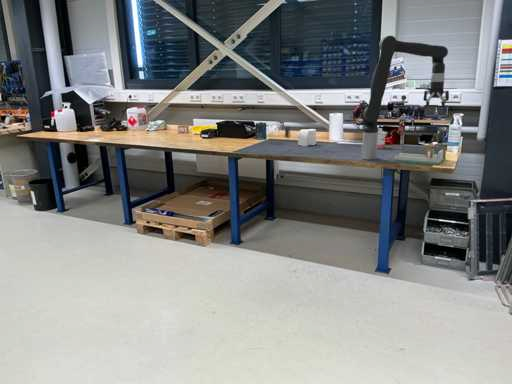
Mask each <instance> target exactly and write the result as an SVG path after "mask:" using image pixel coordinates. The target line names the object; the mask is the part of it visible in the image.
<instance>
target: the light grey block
mask: <svg viewBox="0 0 512 384" xmlns="http://www.w3.org/2000/svg"><path fill="white" fill-rule="evenodd" d="M315 144H316V145H317V129H316V128H308V129H300V130H299V133H298V136H297V145H301V146H300V147H309V146H308V145H314V146H315Z"/></svg>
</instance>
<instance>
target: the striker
mask: <svg viewBox="0 0 512 384" xmlns="http://www.w3.org/2000/svg"><path fill="white" fill-rule="evenodd" d="M444 135H445V131H444V130H438V131H437V137H436V141H433V142H431V143H429V144H428V145H426V146H427V148H426V156H425V158H428V152H430V158H431V157H432V153H433V147H434V146H451V147H454V146H455V143H454V142H444V137H445V136H444Z"/></svg>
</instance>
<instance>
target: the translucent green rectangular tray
mask: <svg viewBox="0 0 512 384" xmlns="http://www.w3.org/2000/svg"><path fill="white" fill-rule="evenodd" d="M426 148H427V145H419V144H418V145H416V144H402V145H401V152H399V153H398V155H394V159H393V161H394V162H395V163H404V162H408V163H407V164H416V163H420V164H419V165H428V164H429V166H431V165H432V166H440V165H441V164H442V163H443V162H444V161H445V160H446V154H447V153H446V152H447V146H438V145H436V146H434V147H433V153H432V155H433V154H437V155H438V159H432V158H430V152H428V158H425V156H426Z"/></svg>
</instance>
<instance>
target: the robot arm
mask: <svg viewBox="0 0 512 384" xmlns="http://www.w3.org/2000/svg"><path fill="white" fill-rule="evenodd" d="M378 43H379V44H378V46H379V50H380V54H379V59H378V62H377V64H376V66H375V69H374V71H373V74H372V79H371V83H370V95H369V96H370V97H369V102H368V105H367V106H366V107H365V108H364V109H363V112H362V144H361V151H360V152H361V154H360V160H361V159H363V160H369V161H370V160H378V148H377V143H378V131H379V130H378V128H379V127H378V120H379V118H380V114H381V108H382V101H383V97H384V94H385V91H386V87H387V84H388V79H389V75H390V70H391V66H392V65H391V64H392V60H393V58H394V57H393V56H394V54H395V53H402V54H409V55H414V56H420V57H431V62H432V67H431V70H432V71H431V77H430V86H429V90H424V92H423V98H422V99H423V101H425V102H426V103H425V107H426V108H427V109H429V108H430V102H431V100H432V99H440V101H442V102H441V109H443V108H445V105H446V102H447V101H449V99H450V98H449V97H450V91H449V90H444V87H445V86H444V85H445V77H446V76H445V72H446V71H445V70H446V64H445V63H444V61H445V60H444V59H445V58H446V57H447V56H448V54H449V50H448V48H447V47H446V46H444V45H436V44H435V45H434V44H428V43H427V44H426V43H422V42H421V43H420V42H413V41H412V42H411V41H410V42H408V41H401V40H398V39H396V37H395V36H394V35H386V36H384V37H383V38H381V39H380V41H379V42H378ZM428 95H430V96H428ZM443 95H445V98H444V96H443Z"/></svg>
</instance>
